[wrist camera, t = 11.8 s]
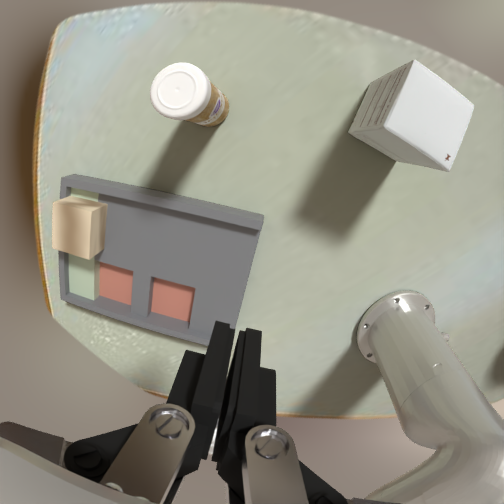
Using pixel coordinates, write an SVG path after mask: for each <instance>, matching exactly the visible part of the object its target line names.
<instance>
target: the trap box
mask: <svg viewBox="0 0 504 504" xmlns="http://www.w3.org/2000/svg"><path fill="white" fill-rule="evenodd" d="M68 196H74V197H79V198H83V199H88V200H92V201H96V202H101V203H105V204H108V207H107V217H106V230H105V245H104V249H103V250H102V251H100V252H99V253H98V254H96V255H95V256H94V257H92V258H91V259H90V260H88V259H85V258H82V257H79V256H75V255H72V254H69V253H66V252H63V251H60V250H59V279H60V295H61V300H64V301H67V302H69V303H72V304H75V305H77V306H80V307H83V308H85V309H88V310H91V311H94V312H97V313H99V314H102V315H105V316H108V317H111V318H114V319H117V320H120V321H123V322H126V323H129V324H133V325H136V326H139V327H142V328H146V329H149V330H152V331H156V332H159V333H162V334H166V335H169V336H173V337H177V338H180V339H184V340H188V341H191V342H195V343H199V344H203V345H207V346H208V345H209V342H210V338H211V335H212V331H213V328H214V324H215V321H220V322H224V323H228V324H230V328H232V329H235V327H236V323H237V319H238V315H239V312H240V308H241V304H242V300H243V296H244V292H245V289H246V285H247V281H248V277H249V273H250V269H251V266H252V262H253V258H254V254H255V250H256V246H257V242H258V239H259V235H260V231H261V229H262V225H263V219H264V215H261V214H257V213H253V212H249V211H245V210H241V209H237V208H232V207H228V206H224V205H220V204H215V203H211V202H207V201H202V200H198V199H194V198H189V197H185V196H180V195H176V194H171V193H166V192H162V191H157V190H152V189H148V188H143V187H138V186H133V185H128V184H123V183H118V182H113V181H108V180H103V179H98V178H93V177H88V176H82V175H77V174H73V175H69V176H65V177H61V188H60V199H63V198H66V197H68Z"/></svg>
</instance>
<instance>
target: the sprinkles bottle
mask: <svg viewBox="0 0 504 504" xmlns="http://www.w3.org/2000/svg"><path fill="white" fill-rule="evenodd" d="M150 98H151V102H152V104H153V106H154V108H155V109H156V110H157V111H158V112H159V113H160V114H161V115H163V116H165V117H168V118H171V119H175V120H186V121H190V122H194V123H197V124H200V125H202V126H208V127H210V126H215V125H218V124H219V123H221V122H222V121H223V120H224V119H225V118H226V116H227V114H228V112H229V103H228V100H227V98H226V97H225V95H224V94H223V93H221V92H220V91H219V90H218V88H217V87H216V86H215V85H213V84H212V83H211V82H210V81H209V79H208V77H207V76H206V75H205V74H204V72H203V71H201V70H200V69H199V68H198V67H196V66H194V65H192V64H189V63H175V64H172V65H169V66H167V67H166V68H164V69H163V70H161V71H160V72H159V73H158V74H157V76H156V77H155V78H154V80H153V82H152V85H151V89H150Z"/></svg>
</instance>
